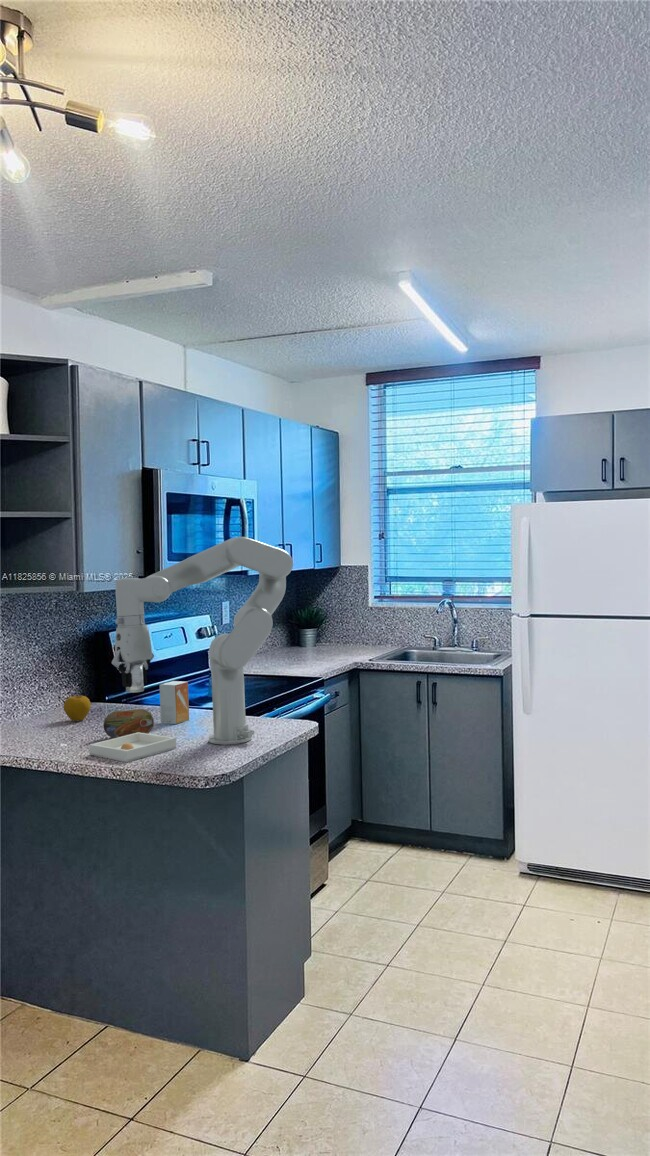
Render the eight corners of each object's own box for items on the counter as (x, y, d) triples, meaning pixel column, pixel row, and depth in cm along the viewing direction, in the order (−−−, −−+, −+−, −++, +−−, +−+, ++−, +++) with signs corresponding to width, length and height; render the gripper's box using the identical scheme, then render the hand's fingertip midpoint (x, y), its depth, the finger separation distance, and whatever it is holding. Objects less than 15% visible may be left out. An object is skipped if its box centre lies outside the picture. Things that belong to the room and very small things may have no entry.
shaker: (148, 690, 240) (146, 658, 240) (134, 693, 236) (132, 661, 236) (136, 688, 243) (134, 658, 243) (121, 692, 239) (120, 660, 239)
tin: (104, 739, 257) (102, 712, 256) (104, 737, 260) (103, 710, 260) (154, 735, 260) (153, 708, 259) (154, 733, 263) (153, 707, 262)
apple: (74, 724, 281) (73, 697, 281) (58, 722, 287) (57, 695, 286) (96, 719, 288) (95, 693, 288) (80, 717, 294) (79, 691, 294)
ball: (136, 755, 232) (136, 742, 232) (126, 758, 229) (126, 745, 229) (128, 753, 234) (127, 741, 234) (118, 756, 231) (117, 743, 231)
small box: (176, 724, 276) (175, 685, 275) (160, 723, 278) (158, 684, 278) (190, 719, 283) (188, 681, 283) (174, 718, 286) (172, 680, 285)
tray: (176, 748, 242) (176, 737, 242) (127, 762, 227) (127, 751, 227) (139, 742, 251) (138, 732, 251) (89, 755, 237) (89, 744, 237)
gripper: (116, 624, 230) (120, 690, 231) (162, 618, 244) (166, 681, 244) (98, 624, 234) (102, 689, 235) (144, 618, 248) (148, 679, 249)
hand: (134, 684), depth 240 cm, fingers closed on shaker, 5 cm apart
